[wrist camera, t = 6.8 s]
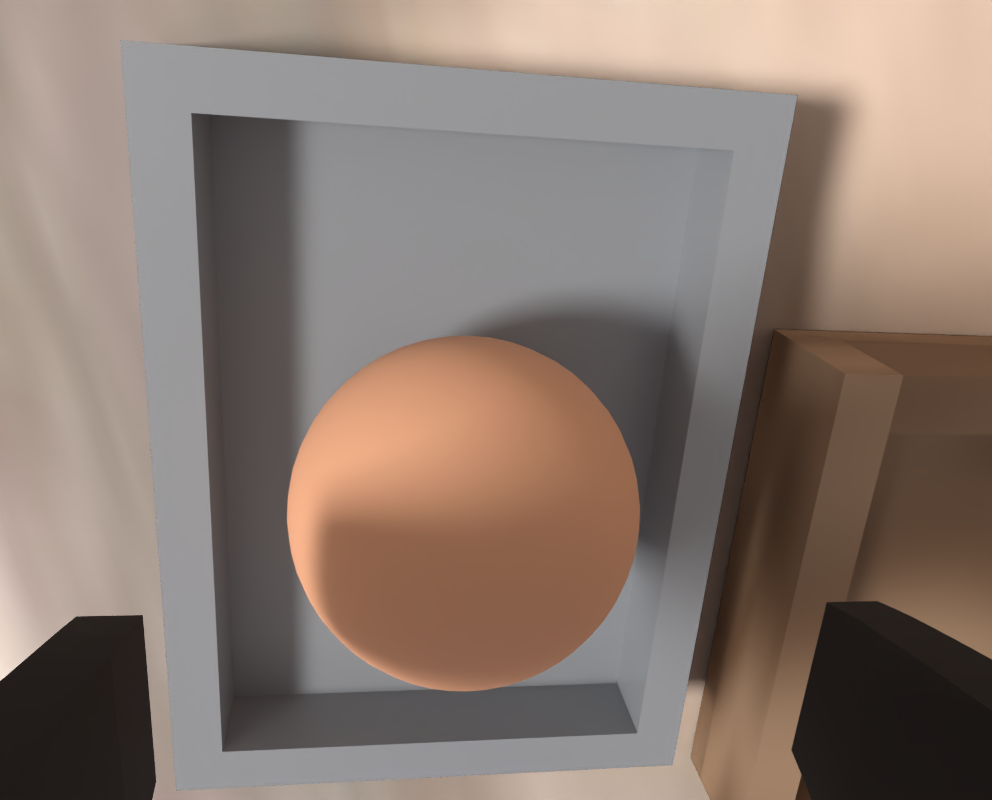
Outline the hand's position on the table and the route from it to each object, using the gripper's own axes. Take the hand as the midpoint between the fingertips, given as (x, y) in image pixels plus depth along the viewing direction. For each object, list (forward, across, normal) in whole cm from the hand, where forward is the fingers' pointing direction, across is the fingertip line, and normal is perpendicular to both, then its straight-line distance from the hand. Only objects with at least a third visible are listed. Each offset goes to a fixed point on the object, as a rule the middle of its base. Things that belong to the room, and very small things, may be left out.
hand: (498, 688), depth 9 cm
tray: (+7, 0, 0) cm, 7 cm away
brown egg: (+6, 0, 0) cm, 6 cm away
